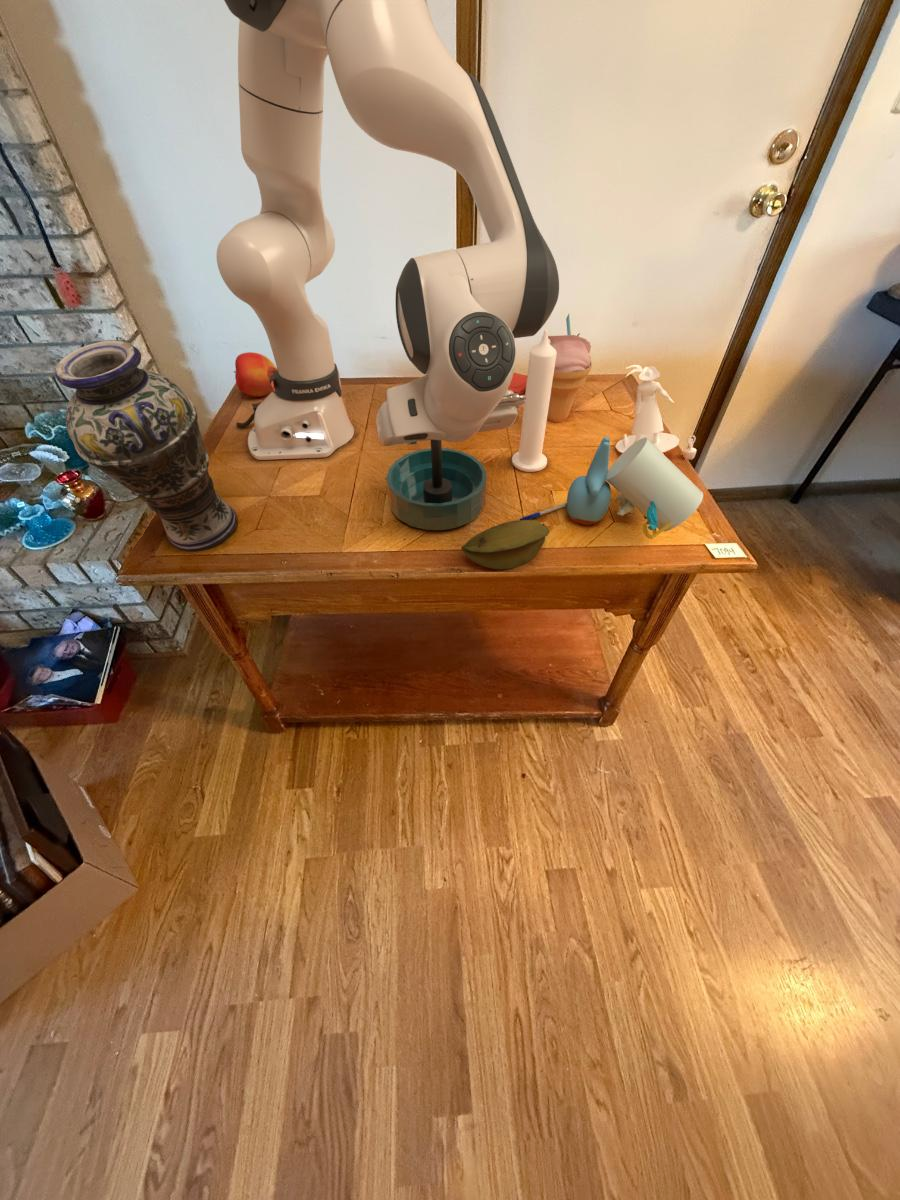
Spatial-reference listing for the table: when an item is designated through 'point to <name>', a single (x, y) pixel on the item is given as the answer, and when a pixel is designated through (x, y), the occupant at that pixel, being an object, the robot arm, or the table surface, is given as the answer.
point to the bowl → (417, 469)
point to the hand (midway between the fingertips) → (439, 435)
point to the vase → (144, 440)
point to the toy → (591, 489)
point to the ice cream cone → (567, 372)
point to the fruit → (507, 544)
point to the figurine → (651, 416)
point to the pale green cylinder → (653, 488)
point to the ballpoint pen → (543, 512)
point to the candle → (536, 407)
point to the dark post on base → (437, 478)
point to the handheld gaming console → (518, 384)
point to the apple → (253, 374)
